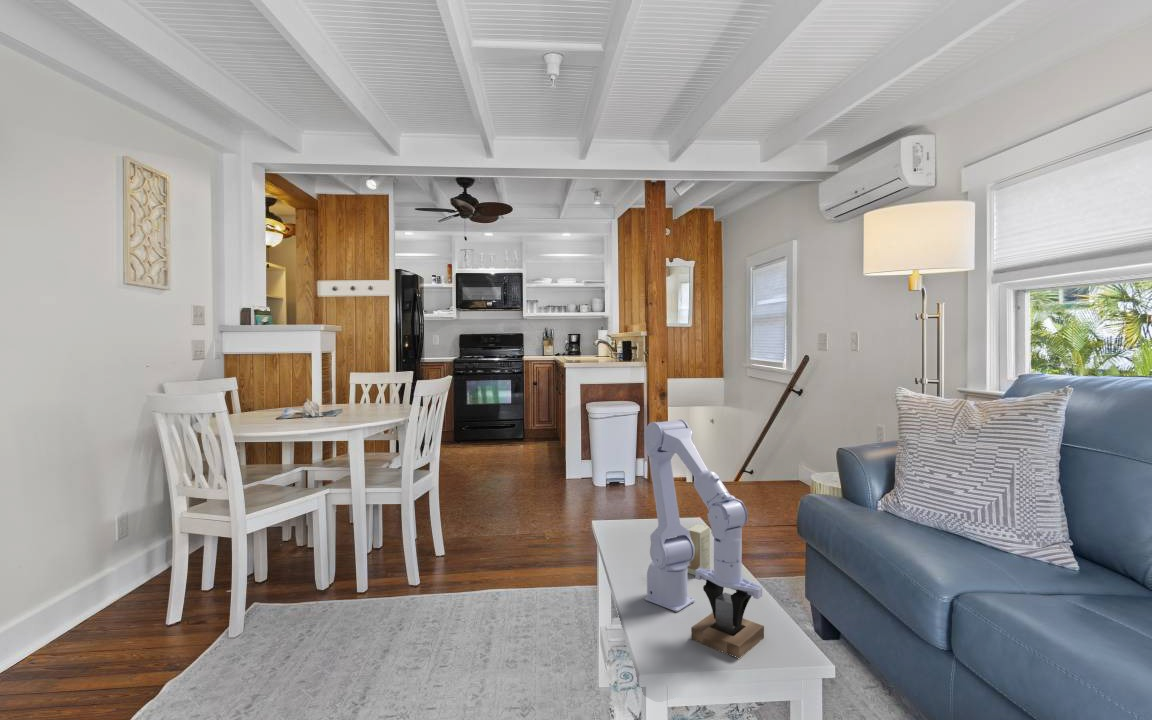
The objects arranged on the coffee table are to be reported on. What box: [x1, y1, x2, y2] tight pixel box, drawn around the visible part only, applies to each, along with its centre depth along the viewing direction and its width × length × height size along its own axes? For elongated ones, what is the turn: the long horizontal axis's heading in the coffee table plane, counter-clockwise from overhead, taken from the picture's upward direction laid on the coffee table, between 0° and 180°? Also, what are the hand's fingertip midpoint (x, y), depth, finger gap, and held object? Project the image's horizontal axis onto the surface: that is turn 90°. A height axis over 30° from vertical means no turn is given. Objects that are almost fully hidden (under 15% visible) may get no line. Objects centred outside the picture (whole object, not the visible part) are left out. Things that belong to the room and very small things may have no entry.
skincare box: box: [687, 523, 711, 576], centre depth 151 cm, size 6×4×12 cm
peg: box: [715, 592, 742, 636], centre depth 116 cm, size 4×4×7 cm
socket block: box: [690, 612, 765, 659], centre depth 116 cm, size 11×11×2 cm
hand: (727, 621), depth 116 cm, fingers closed on peg, 4 cm apart
